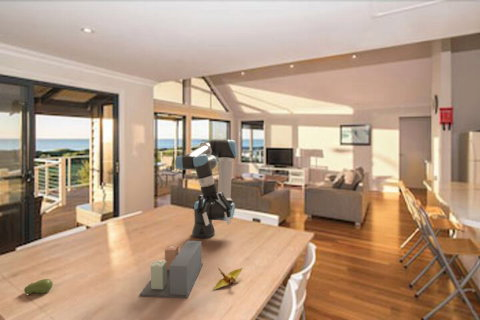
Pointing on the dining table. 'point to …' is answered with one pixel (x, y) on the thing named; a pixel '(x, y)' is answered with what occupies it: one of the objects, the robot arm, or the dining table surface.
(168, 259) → the button one
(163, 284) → the button two
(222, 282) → the origami crane
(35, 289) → the pear
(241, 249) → the dining table surface
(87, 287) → the dining table surface
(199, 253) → the console
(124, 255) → the dining table surface
